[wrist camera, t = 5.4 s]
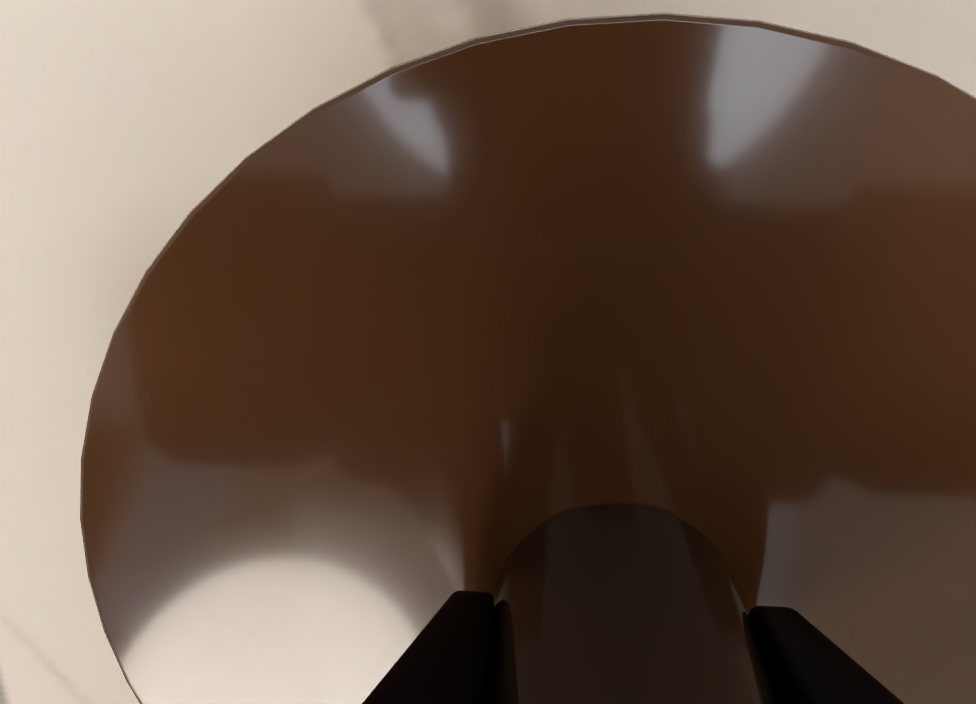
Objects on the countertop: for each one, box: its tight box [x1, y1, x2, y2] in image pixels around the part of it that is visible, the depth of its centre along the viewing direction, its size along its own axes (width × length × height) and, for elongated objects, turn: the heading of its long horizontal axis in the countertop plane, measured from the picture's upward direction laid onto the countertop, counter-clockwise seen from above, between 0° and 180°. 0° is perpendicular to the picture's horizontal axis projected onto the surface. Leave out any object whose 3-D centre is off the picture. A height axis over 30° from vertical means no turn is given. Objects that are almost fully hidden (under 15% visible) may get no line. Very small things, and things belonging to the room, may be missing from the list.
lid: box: [80, 13, 976, 704], centre depth 7 cm, size 12×12×5 cm
